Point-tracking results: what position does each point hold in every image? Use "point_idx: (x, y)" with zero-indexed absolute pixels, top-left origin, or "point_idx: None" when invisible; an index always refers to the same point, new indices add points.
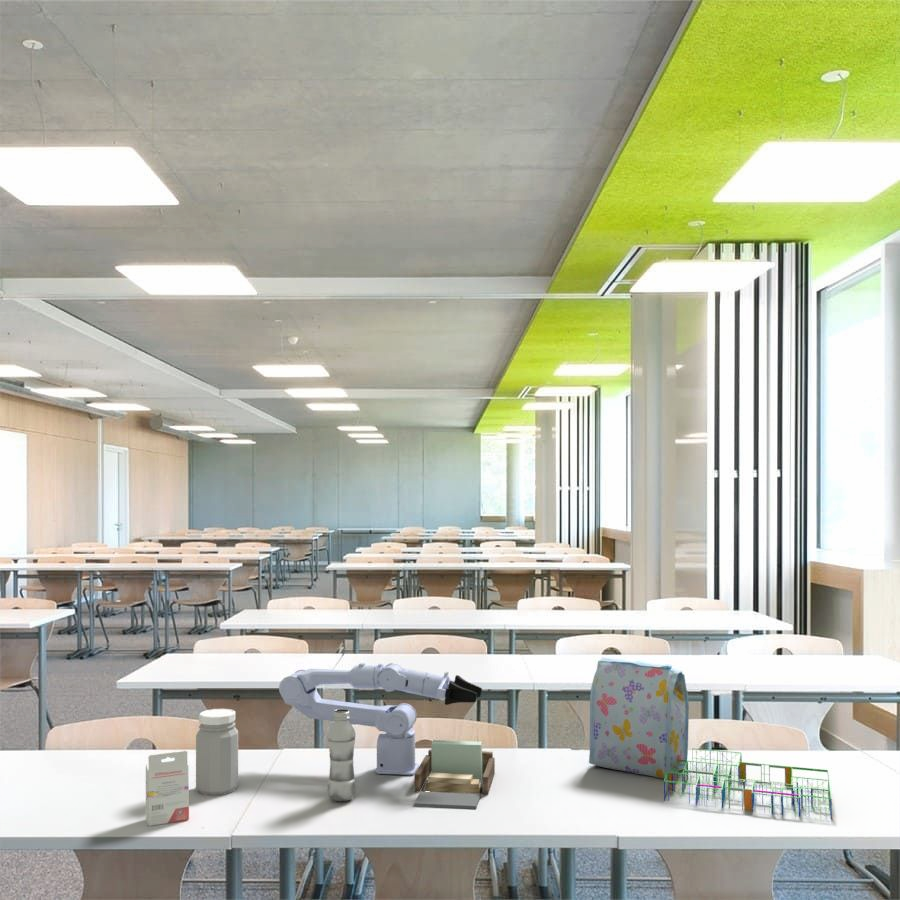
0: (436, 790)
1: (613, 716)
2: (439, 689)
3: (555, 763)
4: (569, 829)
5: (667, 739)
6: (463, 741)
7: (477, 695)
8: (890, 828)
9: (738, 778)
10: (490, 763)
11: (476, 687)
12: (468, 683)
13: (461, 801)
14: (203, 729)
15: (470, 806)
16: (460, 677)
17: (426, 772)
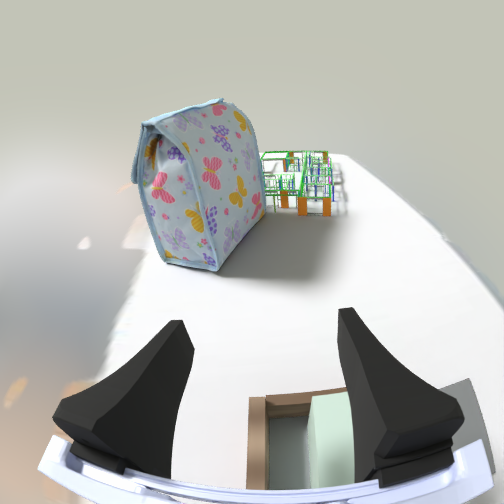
0: None
1: (226, 182)
2: (490, 474)
3: (193, 316)
4: (457, 268)
5: (258, 174)
6: (321, 448)
7: (190, 357)
8: (332, 154)
9: (264, 182)
10: (316, 395)
11: (172, 338)
12: (147, 368)
13: (462, 408)
14: None
15: (471, 386)
16: (80, 400)
17: None
